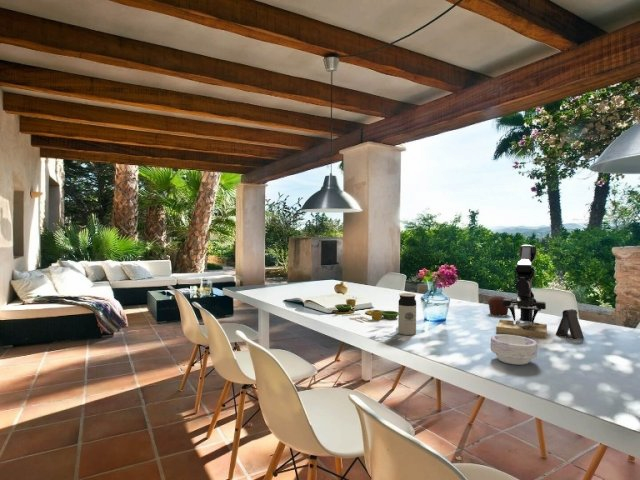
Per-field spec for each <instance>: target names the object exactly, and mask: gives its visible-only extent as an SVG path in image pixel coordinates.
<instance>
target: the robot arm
mask: <svg viewBox="0 0 640 480" xmlns="http://www.w3.org/2000/svg"><path fill="white" fill-rule="evenodd" d="M537 255H538V249H537V246H533V245H531V244H523V245H522V244H521V246H519V247H518V256H520V259H519V261H517V262H516V263H517V265H515V268H514V269H515V271H514V278H515V279H517V282H516V283H515V289H516V290H517V291H516V292H517V293H516V294H517V295H516V301H514V300H513V299H512V298H511V299H510V298H506V299H504V300H503V301H502V306H507V308H508V310H509V311H510V313H511V316H512V318H513V319H512V320H513V321H514V322H516V310H515V306H517V309H518V310H520V318H519V319H518V320H521V321H531V324H532V323H535V319H536V316H537V314H538V312H541V311H542V310H547V309H546V308H547V302H546V301H537V298H535V294H534V293H533V291H532V280H533V278H535V268H534V266H533V263H534V262H535V260H536V256H537Z"/></svg>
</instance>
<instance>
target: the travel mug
mask: <svg viewBox="0 0 640 480" xmlns="http://www.w3.org/2000/svg"><path fill="white" fill-rule="evenodd" d="M416 295H417V294H415V293H409V292H402V293H399V300H398V306H397V307H398V308H397V310H398V311H397V312H398V316H397V317H398V320H397V323H398V324H397V325H398V327H397V328H398V329H397V330H398V331H397V332H398V333H399V334H400V335H402V334H403V335H404V336H413V335H415V334H417V300H416Z"/></svg>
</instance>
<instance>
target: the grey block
mask: <svg viewBox="0 0 640 480" xmlns="http://www.w3.org/2000/svg"><path fill="white" fill-rule="evenodd" d="M515 324H517V325H526V326H532V322H531V321H521V320H519V319H518V320H515Z"/></svg>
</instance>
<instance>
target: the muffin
mask: <svg viewBox="0 0 640 480" xmlns="http://www.w3.org/2000/svg"><path fill="white" fill-rule="evenodd" d="M504 299H507V298H506V297H504V296H503V295H502V296H501V295H494V296H492V297H490V298H489V299H488V301H487V304H488V308H489V314H490V313H491V315H492V314H493V315H494V316H499V315H501V316H502V315H506V316H507V315H508V313H509V308H507V306H502V301H503V300H504ZM493 315H492V316H493ZM502 317H503V316H502Z"/></svg>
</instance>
